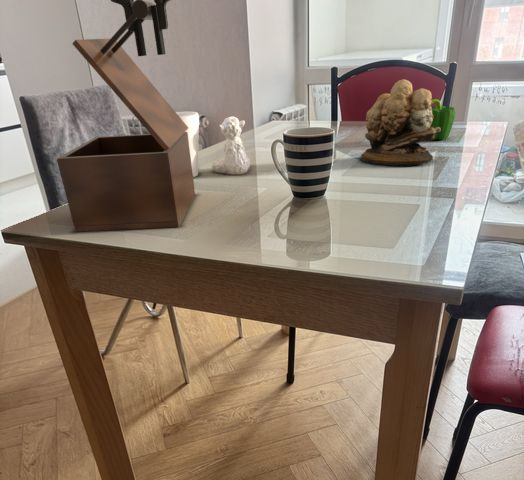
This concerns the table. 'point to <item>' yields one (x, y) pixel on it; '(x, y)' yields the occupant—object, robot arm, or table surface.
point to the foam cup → (192, 137)
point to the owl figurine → (400, 127)
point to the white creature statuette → (232, 149)
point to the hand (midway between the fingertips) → (152, 54)
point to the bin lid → (133, 80)
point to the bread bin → (127, 183)
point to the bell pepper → (442, 119)
